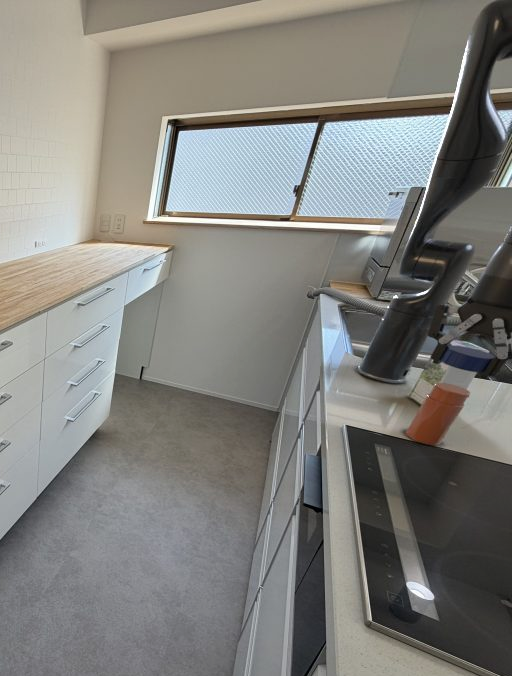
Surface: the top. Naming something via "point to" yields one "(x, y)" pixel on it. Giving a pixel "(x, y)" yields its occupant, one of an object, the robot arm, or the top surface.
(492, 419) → the top surface
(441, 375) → the syrup box
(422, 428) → the jam jar
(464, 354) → the jar lid
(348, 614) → the top surface
